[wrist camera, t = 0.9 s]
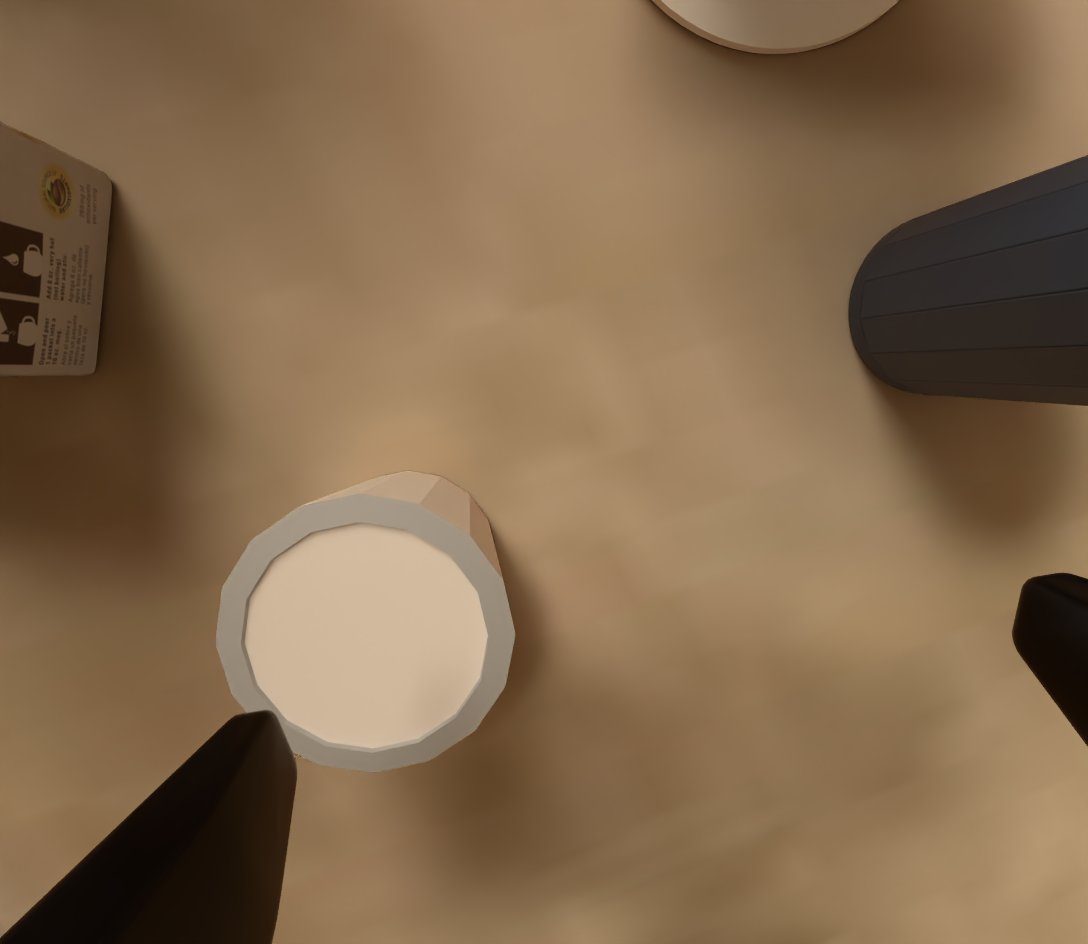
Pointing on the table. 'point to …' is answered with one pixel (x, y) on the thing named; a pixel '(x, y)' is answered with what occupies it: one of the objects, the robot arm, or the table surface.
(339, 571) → the beige cup
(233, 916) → the robot arm
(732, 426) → the table surface
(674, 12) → the white stand
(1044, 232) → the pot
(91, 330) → the coffee box
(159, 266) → the table surface
